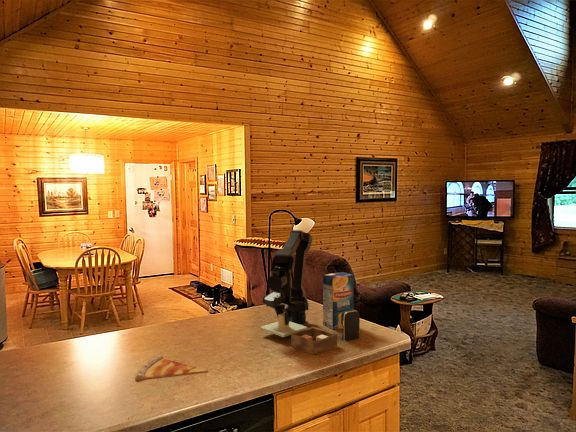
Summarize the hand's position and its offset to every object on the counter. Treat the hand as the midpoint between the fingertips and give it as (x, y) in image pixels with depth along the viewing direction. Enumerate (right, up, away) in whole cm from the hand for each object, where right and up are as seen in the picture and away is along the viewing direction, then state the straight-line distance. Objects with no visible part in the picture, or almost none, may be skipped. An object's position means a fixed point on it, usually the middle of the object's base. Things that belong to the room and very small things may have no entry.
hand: (283, 323), depth 171 cm
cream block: (+14, -5, -11) cm, 19 cm away
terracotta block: (+8, -5, -11) cm, 15 cm away
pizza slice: (-37, -8, -33) cm, 50 cm away
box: (+11, -6, -11) cm, 17 cm away
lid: (0, -2, 0) cm, 2 cm away
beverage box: (+23, -4, +13) cm, 26 cm away
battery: (+25, -6, -3) cm, 26 cm away
